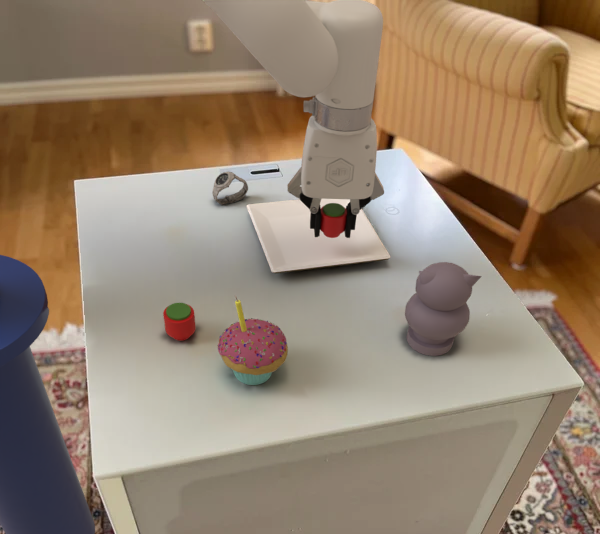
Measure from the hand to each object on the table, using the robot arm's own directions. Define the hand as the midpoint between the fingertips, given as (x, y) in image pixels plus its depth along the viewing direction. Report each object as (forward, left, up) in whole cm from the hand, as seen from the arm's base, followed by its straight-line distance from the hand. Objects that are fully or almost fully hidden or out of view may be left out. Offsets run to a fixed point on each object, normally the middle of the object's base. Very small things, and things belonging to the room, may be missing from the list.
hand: (331, 231), depth 96 cm
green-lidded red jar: (-21, -19, -4) cm, 29 cm away
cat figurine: (+13, -19, -4) cm, 23 cm away
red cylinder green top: (0, 0, 0) cm, 0 cm away
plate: (-2, +4, -4) cm, 6 cm away
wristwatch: (-16, +15, -4) cm, 22 cm away
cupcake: (-11, -26, -4) cm, 28 cm away
